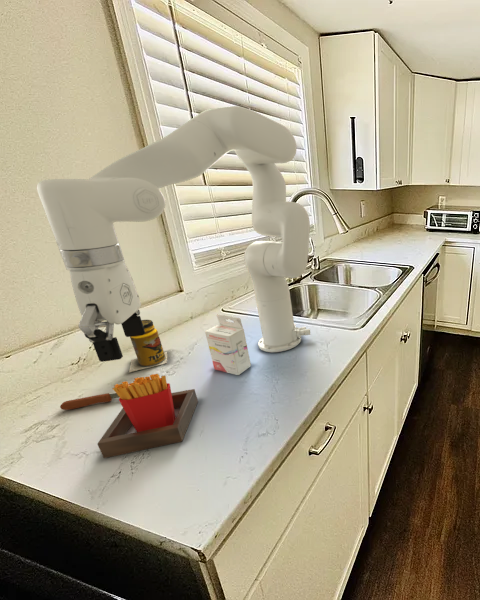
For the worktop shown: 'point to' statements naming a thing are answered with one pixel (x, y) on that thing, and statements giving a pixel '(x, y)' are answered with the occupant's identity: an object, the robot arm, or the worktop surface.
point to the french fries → (147, 402)
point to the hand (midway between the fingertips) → (124, 346)
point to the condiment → (147, 348)
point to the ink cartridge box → (228, 345)
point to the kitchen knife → (88, 401)
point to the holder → (123, 443)
